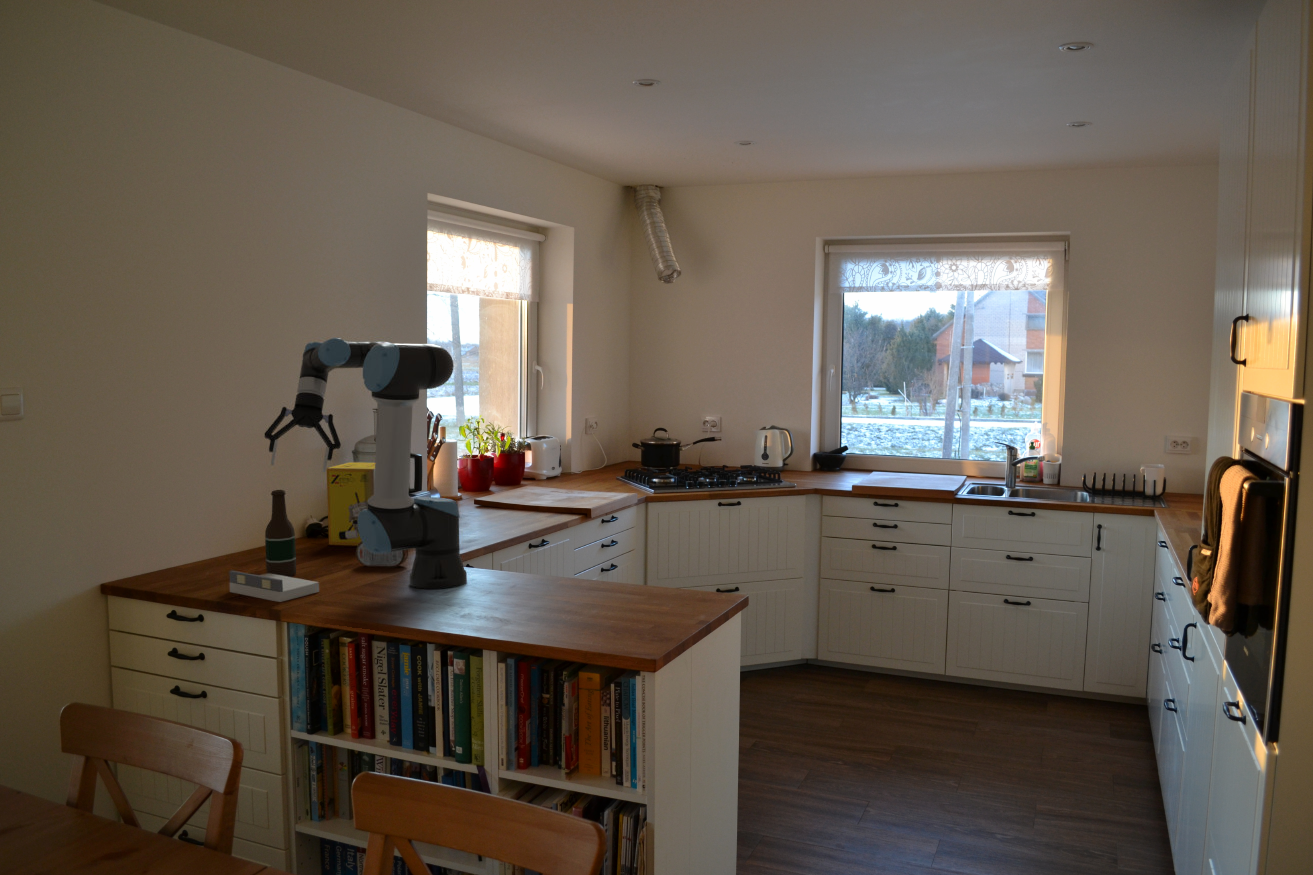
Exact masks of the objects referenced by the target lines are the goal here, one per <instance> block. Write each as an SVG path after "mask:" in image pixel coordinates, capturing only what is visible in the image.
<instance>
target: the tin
mask: <svg viewBox="0 0 1313 875" xmlns="http://www.w3.org/2000/svg"><path fill="white" fill-rule="evenodd" d="M355 556H356V559H357V561H358V562H359V563H360V564H361V565H362V566H364V567H368V568H397V567H399V566H401V565H403V564H405V562H406V561H407V558H408V556H409V549H407V550H401V551H395V552H390V553H379V554H374V553H372V552H370V551H369V550H367V548H366V547H365V546H364V544H363V542H362V541H361V542H360V543H359V544H358V546H356V549H355Z"/></svg>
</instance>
